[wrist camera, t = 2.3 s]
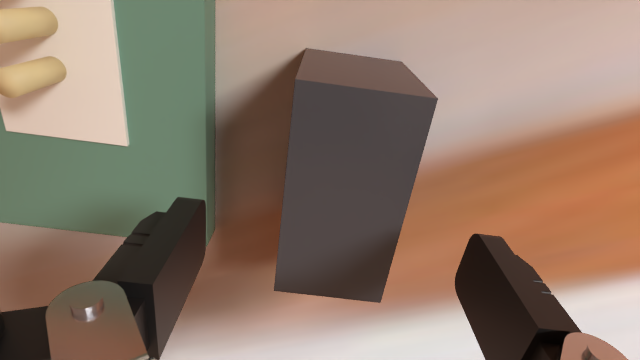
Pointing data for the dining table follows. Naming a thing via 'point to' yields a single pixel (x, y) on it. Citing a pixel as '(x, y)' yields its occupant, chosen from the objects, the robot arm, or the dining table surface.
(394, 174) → the block
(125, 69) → the board
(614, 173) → the dining table surface
